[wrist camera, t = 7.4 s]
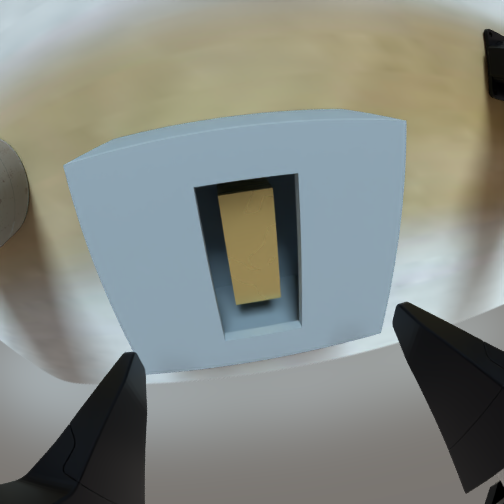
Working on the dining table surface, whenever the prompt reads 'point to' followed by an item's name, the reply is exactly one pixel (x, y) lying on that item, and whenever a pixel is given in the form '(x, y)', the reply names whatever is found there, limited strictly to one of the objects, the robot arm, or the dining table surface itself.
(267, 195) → the tan rectangular block
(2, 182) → the thermos bottle
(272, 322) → the box
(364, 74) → the dining table surface
